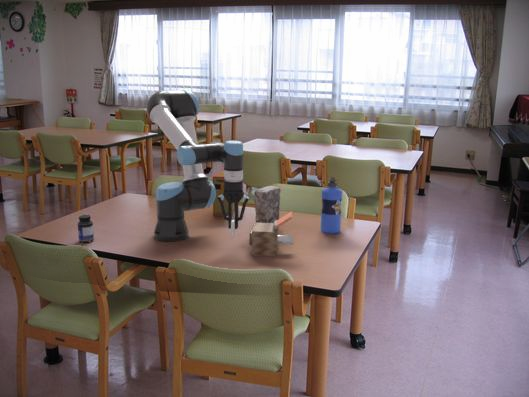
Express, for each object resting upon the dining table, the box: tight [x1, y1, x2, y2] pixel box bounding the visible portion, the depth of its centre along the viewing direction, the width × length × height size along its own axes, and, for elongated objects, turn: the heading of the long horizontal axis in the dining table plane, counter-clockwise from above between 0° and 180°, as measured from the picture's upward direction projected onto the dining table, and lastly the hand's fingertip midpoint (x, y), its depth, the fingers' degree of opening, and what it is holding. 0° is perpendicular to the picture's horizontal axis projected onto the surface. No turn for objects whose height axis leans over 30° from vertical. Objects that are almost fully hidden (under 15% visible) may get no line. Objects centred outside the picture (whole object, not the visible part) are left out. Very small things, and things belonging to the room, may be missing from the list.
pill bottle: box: [77, 214, 95, 243], centre depth 228 cm, size 6×6×11 cm
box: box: [212, 169, 235, 217], centre depth 275 cm, size 17×9×20 cm, turn 172°
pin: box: [248, 230, 294, 247], centre depth 218 cm, size 17×6×6 cm, turn 85°
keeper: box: [273, 210, 294, 230], centre depth 216 cm, size 9×9×2 cm
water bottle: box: [320, 176, 343, 235], centre depth 243 cm, size 9×9×25 cm
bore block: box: [251, 222, 280, 257], centre depth 218 cm, size 10×12×10 cm
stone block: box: [253, 185, 281, 223], centre depth 244 cm, size 13×7×20 cm, turn 151°
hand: (233, 236), depth 220 cm, fingers closed
